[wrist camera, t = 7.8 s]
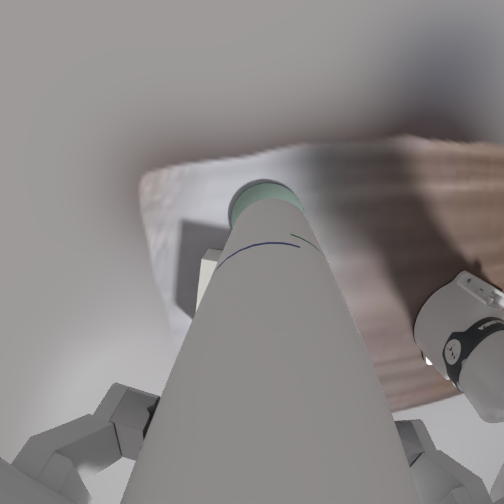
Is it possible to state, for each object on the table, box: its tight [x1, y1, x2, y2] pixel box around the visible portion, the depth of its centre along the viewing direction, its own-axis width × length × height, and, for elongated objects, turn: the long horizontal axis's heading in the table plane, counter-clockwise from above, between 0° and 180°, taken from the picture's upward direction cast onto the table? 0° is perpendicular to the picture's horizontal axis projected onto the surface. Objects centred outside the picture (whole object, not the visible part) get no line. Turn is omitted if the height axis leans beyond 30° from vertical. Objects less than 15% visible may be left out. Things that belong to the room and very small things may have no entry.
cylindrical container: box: [120, 198, 420, 504], centre depth 16 cm, size 7×7×25 cm
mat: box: [231, 183, 304, 229], centre depth 41 cm, size 10×10×1 cm
